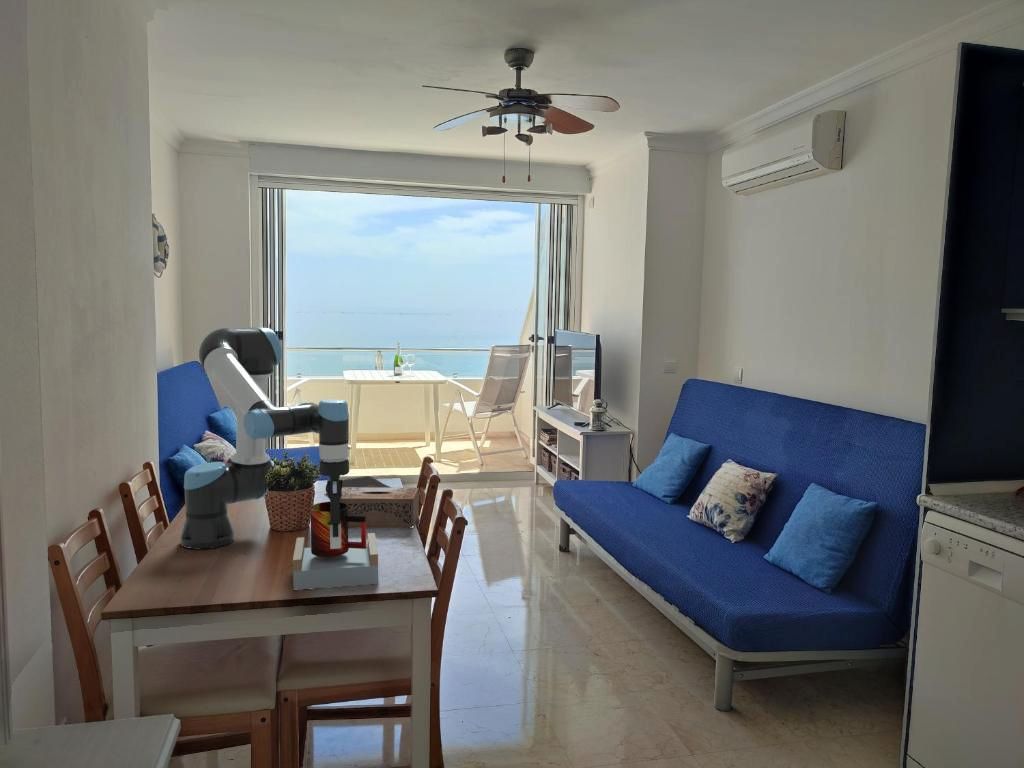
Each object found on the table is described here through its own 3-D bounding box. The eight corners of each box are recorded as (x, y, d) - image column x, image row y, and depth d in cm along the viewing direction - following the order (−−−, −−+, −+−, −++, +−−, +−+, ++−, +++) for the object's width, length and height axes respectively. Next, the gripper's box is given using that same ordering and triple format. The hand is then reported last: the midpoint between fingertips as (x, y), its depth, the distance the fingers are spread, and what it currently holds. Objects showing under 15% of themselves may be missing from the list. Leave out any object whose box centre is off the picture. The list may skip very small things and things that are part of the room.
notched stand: (293, 590, 186) (292, 559, 185) (297, 566, 203) (296, 537, 203) (378, 584, 191) (377, 554, 190) (375, 560, 208) (374, 532, 207)
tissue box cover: (418, 516, 253) (418, 487, 252) (413, 529, 238) (413, 498, 237) (343, 515, 252) (342, 487, 251) (333, 528, 238) (332, 498, 237)
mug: (366, 553, 195) (366, 508, 193) (312, 558, 190) (311, 513, 189) (361, 541, 204) (361, 499, 202) (309, 546, 199) (308, 503, 198)
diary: (352, 510, 261) (351, 496, 260) (325, 495, 281) (325, 482, 281) (399, 501, 272) (399, 488, 271) (371, 487, 292) (370, 475, 291)
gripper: (349, 467, 184) (351, 554, 186) (348, 450, 205) (349, 528, 208) (318, 468, 182) (320, 556, 185) (320, 451, 204) (322, 530, 206)
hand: (335, 541), depth 196 cm, fingers closed on mug, 10 cm apart
